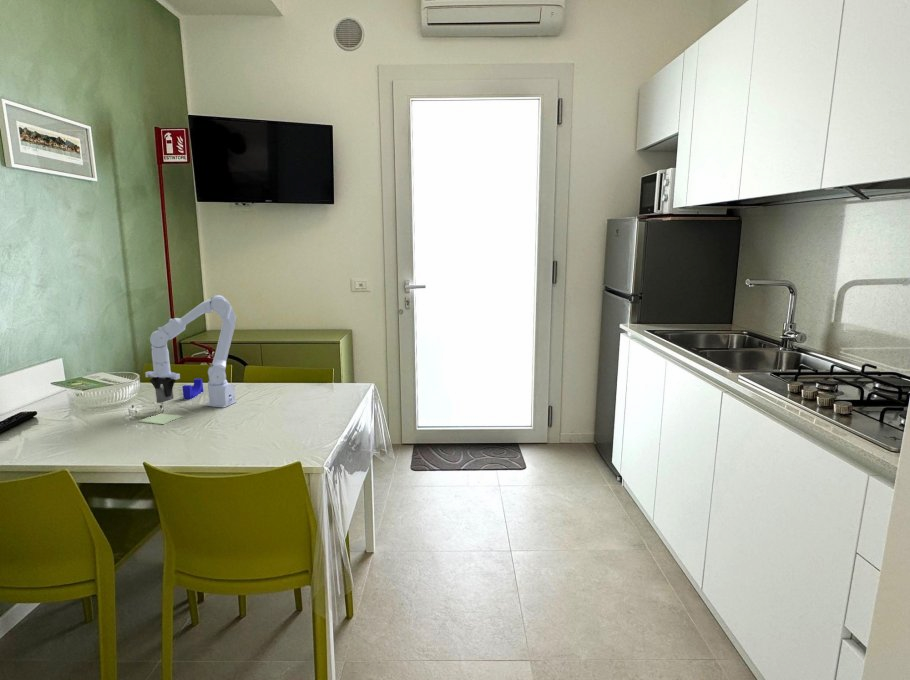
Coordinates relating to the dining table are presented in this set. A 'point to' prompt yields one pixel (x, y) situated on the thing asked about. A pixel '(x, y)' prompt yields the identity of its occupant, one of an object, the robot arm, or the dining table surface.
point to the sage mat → (160, 419)
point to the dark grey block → (162, 395)
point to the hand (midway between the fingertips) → (164, 395)
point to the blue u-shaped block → (193, 389)
